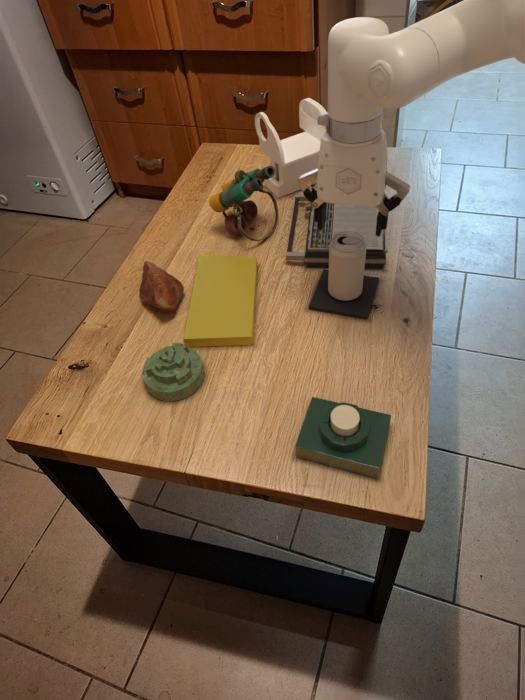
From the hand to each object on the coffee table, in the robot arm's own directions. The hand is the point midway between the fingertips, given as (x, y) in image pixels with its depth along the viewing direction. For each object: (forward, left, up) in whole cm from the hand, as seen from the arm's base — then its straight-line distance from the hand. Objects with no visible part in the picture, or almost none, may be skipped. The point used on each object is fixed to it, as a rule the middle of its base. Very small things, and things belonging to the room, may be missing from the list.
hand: (350, 228), depth 80 cm
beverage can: (0, 0, -15) cm, 15 cm away
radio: (+6, -19, -16) cm, 25 cm away
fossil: (+34, +10, -16) cm, 39 cm away
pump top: (-7, +31, -11) cm, 33 cm away
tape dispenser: (+21, -37, -16) cm, 46 cm away
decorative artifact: (+23, +27, -16) cm, 39 cm away
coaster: (0, 0, -15) cm, 15 cm away
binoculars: (+26, -16, -16) cm, 35 cm away
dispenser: (-7, +31, -15) cm, 35 cm away
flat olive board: (+22, +7, -16) cm, 28 cm away
